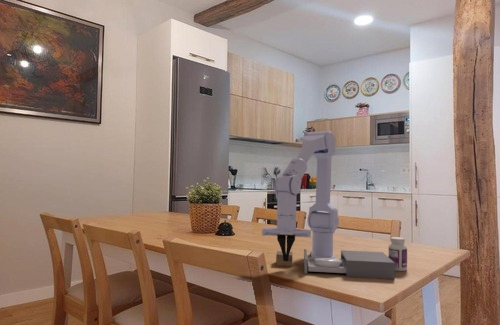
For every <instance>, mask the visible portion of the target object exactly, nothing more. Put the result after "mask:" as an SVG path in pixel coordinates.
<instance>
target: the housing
mask: <svg viewBox="0 0 500 325" xmlns="http://www.w3.org/2000/svg"><path fill="white" fill-rule="evenodd" d="M340 259H345V261H346V262H347V273H344V274H345V275H346V277H348V278H362V279H363V278H365V279H382V280H383V279H384V280H385V279H386V280H395V279H396V277H395V276H396V275H395V274H396V273H395V263H394V262H393V261H392V260H391V259H390V258H389V255H387V254H386V253H384V252H383V251H364V250H363V251H362V250H343V249H341V250H340Z"/></svg>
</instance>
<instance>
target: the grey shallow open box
mask: <svg viewBox="0 0 500 325" xmlns="http://www.w3.org/2000/svg"><path fill="white" fill-rule="evenodd" d="M307 253H308V252H307V249H305V248H304V249H303V267H304V268H303V271H304V274H306V275H307V274H308V272H316V273H317V272H318V273H334V274H335V273H336V274H345V273H347V262H346V261H345V259H341V258H337V259H338V260H342V267H323V266H317V265H314V263H315V259H316V258H314V257H311V256H309V257H308V254H307ZM329 259H336V257H335V258H329Z"/></svg>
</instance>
